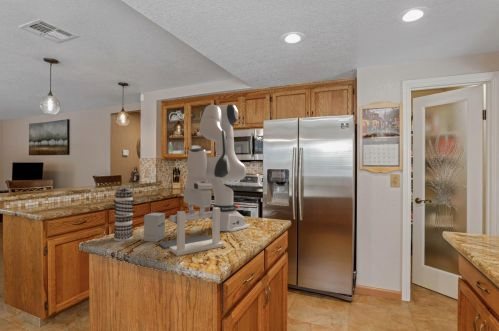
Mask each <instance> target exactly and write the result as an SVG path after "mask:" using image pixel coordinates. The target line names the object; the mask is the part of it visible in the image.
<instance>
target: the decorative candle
mask: <svg viewBox="0 0 499 331" xmlns="http://www.w3.org/2000/svg"><path fill="white" fill-rule="evenodd" d="M114 192H115V199H114V200H113V203H114V205H113V207H114V208H113V210H114V212H113V214H114V217H115V218H114V220H115V221H114V229H113V230H114V231H113V237H114V238H113V240H114V241H116V242H124V241H130V240H132V239H133V238H134V237H133V235H134V233H133V232H134V231H133V229H134V227H133V225H134V224H133V215H134V210H133V209H134V207H133V206H134V205H135V203H134V202H135V200H134V199H133V190H132V189H131V188H130V187H119V188H117V189H116V191H114Z"/></svg>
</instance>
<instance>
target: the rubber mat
mask: <svg viewBox="0 0 499 331" xmlns="http://www.w3.org/2000/svg"><path fill="white" fill-rule="evenodd" d="M210 239H212V236H208V235H206V234H202V235H197V236H191V237H185V244H188V243H194V242H199V241H205V240H210ZM158 245H159V246H160V247H161V248H163V249H164V250H167V249H170V247H172V246H177V239H173V240H167V241H161V242H159V241H158Z"/></svg>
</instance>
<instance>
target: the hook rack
mask: <svg viewBox="0 0 499 331" xmlns="http://www.w3.org/2000/svg"><path fill="white" fill-rule="evenodd" d="M212 211H213V217H210V218H208V219H210V220H212V221H211V222H212V224H211V227H212V229H211V232H212V234H211V235H212V236H211V238H212V239H210V240H205V241H199V242H194V243H188V244H185V238H186V221H185V214H186V211H185V210H180V211H176V212H177V214H176V215H177V222H173V223H174V224H176V240H177V246H172V247H170V248H169V251H170V252H172V253H173V254H174V255H175V256H178V257H179V256H183V255H187V254H188V255H189V254H193V253H198V252H203V251H208V250H213V249H217V248H223V247H224V242H222V241H220V240H221V239H220V238H221V237H220V236H221V235H220V234H221V231H220V208H218V207H216V208H214V207H212Z"/></svg>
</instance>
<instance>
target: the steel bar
mask: <svg viewBox="0 0 499 331" xmlns="http://www.w3.org/2000/svg"><path fill="white" fill-rule="evenodd" d="M199 212H200V211H199ZM199 212H194V213H189V212H188V213H185V222H186V221H192V220H193V221H194V220H201V219H209V218H210V217H213V210H209V211H208V210H207V211H204V216H203V217H199ZM220 213H221V211H220ZM174 222H177V214H171V215H169V223H174Z"/></svg>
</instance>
